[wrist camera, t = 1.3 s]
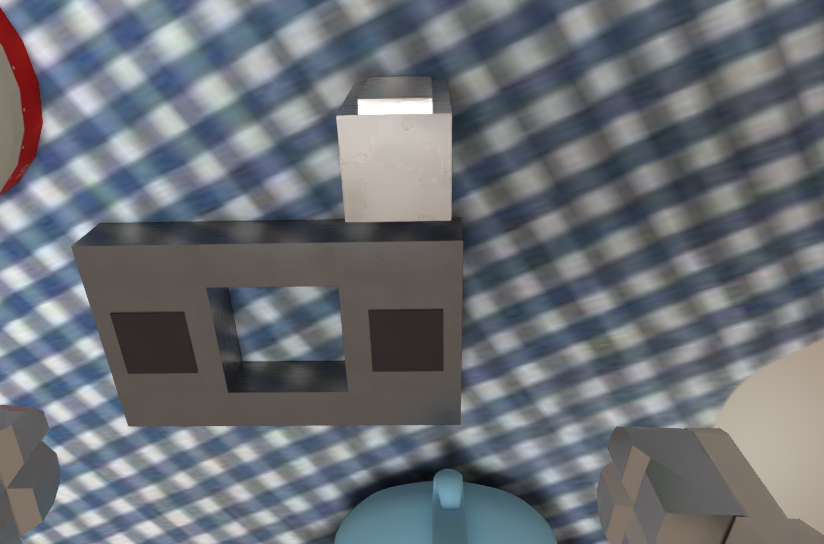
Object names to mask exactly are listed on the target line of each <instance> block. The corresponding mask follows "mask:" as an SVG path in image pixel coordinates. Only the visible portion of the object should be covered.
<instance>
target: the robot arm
mask: <svg viewBox="0 0 824 544" xmlns="http://www.w3.org/2000/svg"><path fill="white" fill-rule="evenodd" d="M48 431H49V426H48V423H47V420H46V417H45V415H44V412H43V411H42V410H40V409H37V408H35V407H27V406H9V405H0V544H23V540H22V535H23V534H25V533H26V532H28V531H29V530H31V529H32V528H34V527H36V526H37V525H39V524H40V523H42V522H43V520H44V519H45V517H46V515H47V514H48V512H49V510H50V509H51V507H52V506H53V504H54V500H55V497H56V494H57V490H58V487H59V484H60V466H59V462H58V458H57V454H56V453H55V452H54V451H53V450H52V449H51V448H49V447H48V446H47V445H46V444H45V443H44V442H42V440H43V438H44V437H45V435H46V434H47V432H48ZM608 450H609V452H610V455H611V457H612V459H613V461H612V462H611V463H610V464H608V465H607V466H606V467H605V468H604V469H602V470H601V474H600V479H599V483H598V488H597V493H598V511H599V517H600V522H601V525H602V528H603V530H604V533H605V536H606V538H607V539H609V540H610V541H611V542H612V543H613V544H824V535H823V534H821V533H820V532H818V531H817V530H815V529H814V528H812V527H811V526H809V525H808V524H806V523H805V522H803V521H801V520H800V519H788V518H787V516H786V515H785V514H784V512H783V511H782V509H781V508H780V507H779V505H778V504H777V502H776V501H775V500H774V498H773V497H772V495H771V494H770V493H769V491H768V489H767V488H766V487H765V485H764V484H763V482H762V481H761V480H760V478H759V477H758V475H757V474H756V472H755V471H754V470H753V468H752V467H751V465H750V464H749V463H748V461H747V460H746V458H745V457H744V455H743V454H742V453H741V451H740V450H739V448H738V447H737V446H736V444H735V443H734V441H733V440H732V439H731V437H730V436H729V434H727V433H726V432H725V431H723V430H722V429H720V428H685V429H681V428H645V427H616V428H615V430H614V431H613V433H612V434H611V437H610V441H609V444H608Z"/></svg>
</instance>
